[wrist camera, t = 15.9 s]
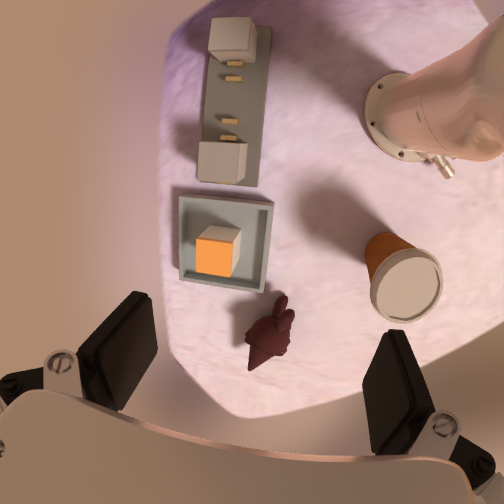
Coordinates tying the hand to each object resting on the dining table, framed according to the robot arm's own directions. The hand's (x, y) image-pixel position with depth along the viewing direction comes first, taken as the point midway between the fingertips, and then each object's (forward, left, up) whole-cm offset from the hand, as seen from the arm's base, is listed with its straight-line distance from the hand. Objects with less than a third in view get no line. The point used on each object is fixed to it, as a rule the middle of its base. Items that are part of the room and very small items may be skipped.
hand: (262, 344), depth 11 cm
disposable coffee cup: (-16, -4, -31) cm, 35 cm away
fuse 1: (+19, -12, -29) cm, 37 cm away
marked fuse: (+2, +11, -30) cm, 32 cm away
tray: (+2, +11, -30) cm, 32 cm away
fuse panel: (+14, -5, -30) cm, 34 cm away
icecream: (-13, +18, -31) cm, 38 cm away
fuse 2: (+9, +2, -29) cm, 31 cm away
